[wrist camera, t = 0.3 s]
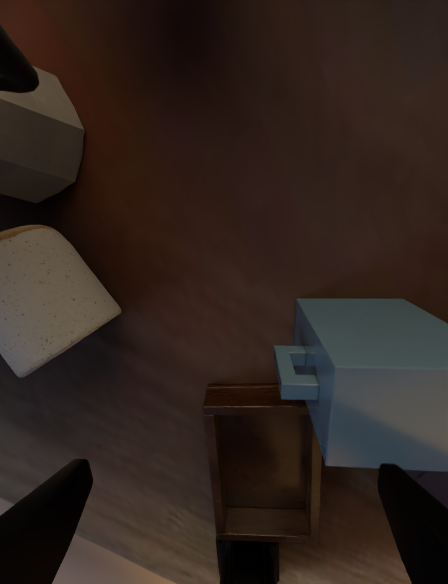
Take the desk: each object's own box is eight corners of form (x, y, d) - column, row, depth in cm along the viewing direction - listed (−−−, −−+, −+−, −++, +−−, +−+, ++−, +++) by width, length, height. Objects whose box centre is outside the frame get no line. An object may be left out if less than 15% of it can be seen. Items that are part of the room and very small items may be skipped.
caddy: (311, 509, 28) (318, 544, 25) (219, 507, 29) (216, 540, 26) (314, 382, 24) (323, 406, 21) (207, 384, 25) (202, 407, 22)
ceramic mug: (72, 214, 21) (-23, 218, 14) (138, 300, 23) (84, 344, 15) (-14, 287, 24) (-133, 322, 16) (51, 359, 25) (-31, 421, 18)
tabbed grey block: (404, 364, 23) (520, 476, 13) (269, 361, 23) (284, 464, 14) (415, 298, 21) (557, 370, 11) (270, 298, 22) (289, 365, 12)
